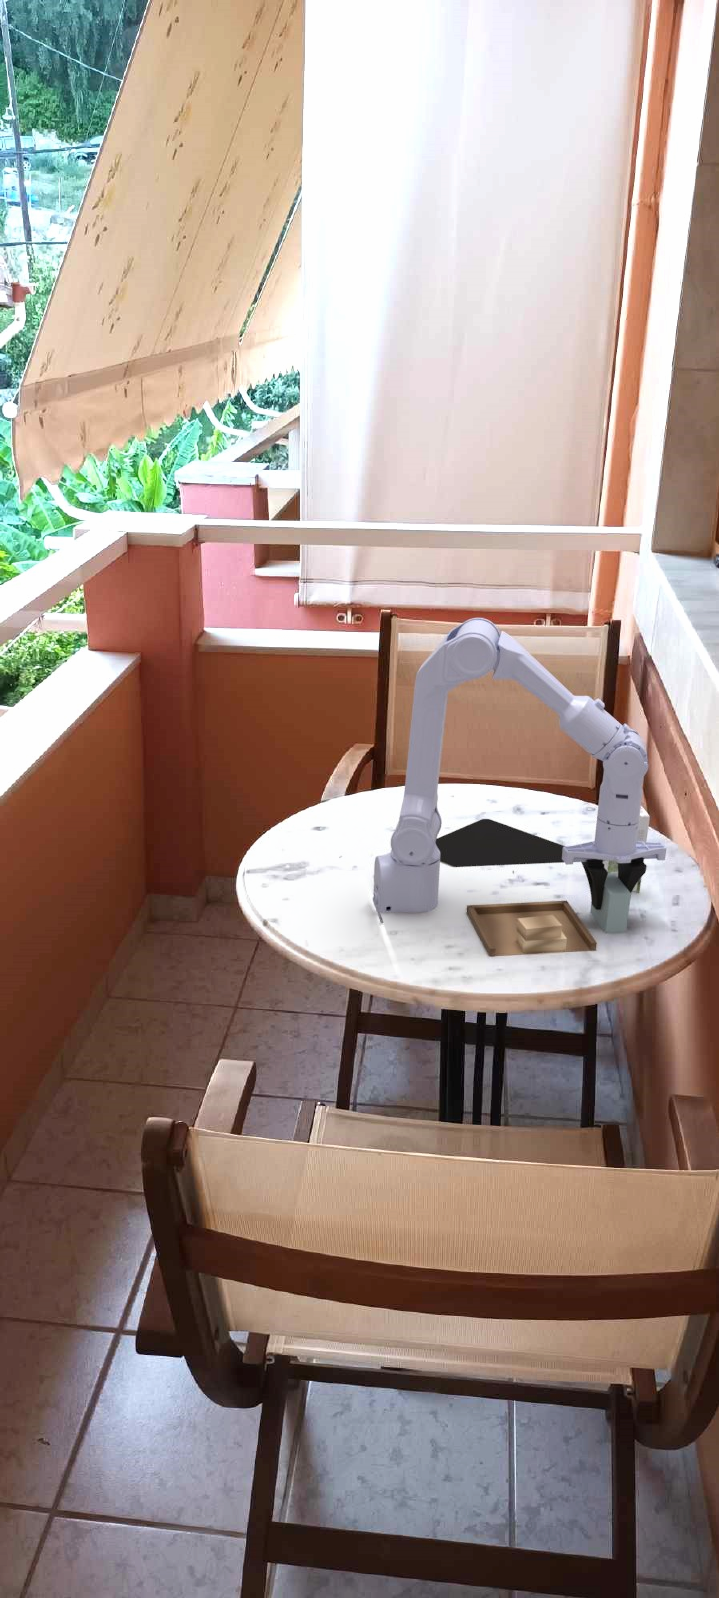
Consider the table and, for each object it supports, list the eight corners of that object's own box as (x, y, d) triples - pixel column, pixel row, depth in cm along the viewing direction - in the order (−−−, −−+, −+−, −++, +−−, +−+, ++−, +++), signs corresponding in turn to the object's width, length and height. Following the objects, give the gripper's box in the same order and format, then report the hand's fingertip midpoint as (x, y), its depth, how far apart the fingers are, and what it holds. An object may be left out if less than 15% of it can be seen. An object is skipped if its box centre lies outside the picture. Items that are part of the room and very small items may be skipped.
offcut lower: (522, 952, 155) (523, 940, 154) (516, 940, 158) (517, 929, 158) (565, 950, 156) (566, 938, 155) (557, 938, 159) (558, 926, 158)
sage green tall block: (604, 938, 161) (610, 894, 159) (589, 916, 167) (594, 873, 165) (625, 937, 162) (630, 893, 159) (609, 915, 168) (614, 872, 165)
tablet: (410, 849, 190) (484, 817, 203) (410, 852, 190) (484, 820, 204) (545, 903, 173) (616, 864, 186) (545, 907, 173) (616, 868, 187)
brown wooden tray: (488, 965, 155) (489, 948, 154) (465, 921, 167) (467, 905, 166) (595, 959, 157) (596, 943, 156) (565, 916, 169) (566, 900, 168)
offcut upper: (525, 941, 154) (526, 929, 154) (516, 930, 157) (517, 918, 157) (561, 937, 156) (562, 925, 155) (551, 926, 159) (552, 914, 158)
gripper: (577, 831, 154) (568, 921, 159) (679, 827, 156) (667, 916, 161) (560, 811, 160) (552, 899, 165) (659, 808, 163) (648, 894, 168)
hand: (608, 906), depth 164 cm, fingers closed on sage green tall block, 3 cm apart
